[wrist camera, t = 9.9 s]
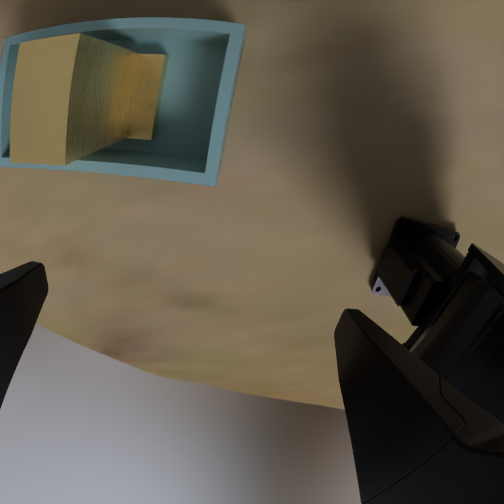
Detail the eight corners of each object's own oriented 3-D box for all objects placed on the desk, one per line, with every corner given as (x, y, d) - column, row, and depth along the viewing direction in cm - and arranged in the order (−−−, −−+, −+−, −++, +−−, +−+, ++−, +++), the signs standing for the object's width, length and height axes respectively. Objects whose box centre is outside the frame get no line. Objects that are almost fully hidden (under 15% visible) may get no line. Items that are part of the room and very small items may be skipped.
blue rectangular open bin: (244, 39, 15) (245, 24, 11) (220, 168, 18) (215, 186, 15) (39, 41, 13) (5, 37, 9) (29, 152, 17) (-5, 166, 13)
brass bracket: (169, 56, 14) (117, 30, 7) (155, 137, 17) (99, 168, 10) (79, 57, 14) (-4, 49, 7) (70, 132, 16) (-12, 162, 9)
